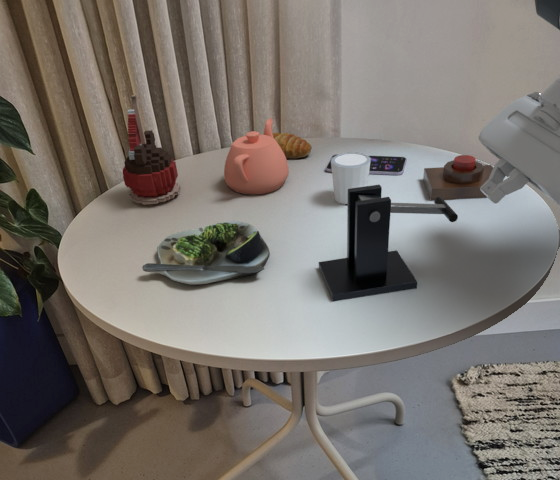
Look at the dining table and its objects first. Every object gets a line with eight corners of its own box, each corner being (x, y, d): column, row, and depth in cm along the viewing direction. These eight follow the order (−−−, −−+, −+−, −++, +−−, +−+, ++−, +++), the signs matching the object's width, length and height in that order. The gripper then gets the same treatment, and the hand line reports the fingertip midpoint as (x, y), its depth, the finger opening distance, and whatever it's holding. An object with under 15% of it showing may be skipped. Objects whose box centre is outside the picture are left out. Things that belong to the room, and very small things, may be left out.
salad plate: (152, 306, 81) (144, 278, 78) (137, 248, 94) (130, 223, 91) (282, 276, 85) (280, 249, 82) (250, 225, 98) (247, 199, 95)
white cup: (377, 195, 103) (379, 156, 98) (353, 210, 99) (354, 170, 95) (347, 186, 107) (347, 148, 102) (323, 200, 103) (322, 161, 98)
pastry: (317, 150, 121) (317, 132, 118) (302, 163, 117) (301, 144, 114) (279, 145, 125) (277, 127, 122) (263, 157, 121) (261, 138, 118)
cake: (175, 207, 105) (154, 103, 93) (125, 210, 106) (98, 107, 94) (184, 183, 113) (166, 85, 101) (138, 186, 114) (114, 88, 102)
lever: (439, 209, 81) (444, 192, 79) (455, 226, 76) (460, 209, 75) (351, 206, 78) (354, 189, 77) (362, 224, 74) (365, 207, 72)
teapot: (211, 198, 107) (203, 147, 101) (248, 161, 119) (243, 113, 113) (271, 204, 103) (267, 151, 97) (303, 165, 116) (301, 116, 109)
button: (471, 164, 102) (473, 154, 100) (476, 172, 99) (477, 162, 98) (451, 165, 102) (452, 155, 101) (454, 173, 99) (456, 163, 98)
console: (489, 176, 106) (493, 154, 103) (501, 197, 99) (505, 175, 96) (423, 179, 107) (425, 158, 104) (430, 201, 100) (432, 178, 97)
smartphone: (332, 153, 117) (407, 156, 113) (332, 156, 117) (407, 159, 114) (324, 169, 112) (402, 172, 108) (324, 172, 112) (402, 175, 108)
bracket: (396, 257, 87) (402, 174, 78) (416, 289, 80) (425, 202, 71) (318, 268, 86) (316, 186, 77) (332, 302, 79) (331, 215, 71)
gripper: (520, 73, 78) (442, 155, 83) (612, 119, 62) (510, 216, 68) (543, 103, 81) (467, 180, 87) (637, 154, 66) (537, 244, 71)
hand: (487, 196), depth 77 cm, fingers closed
